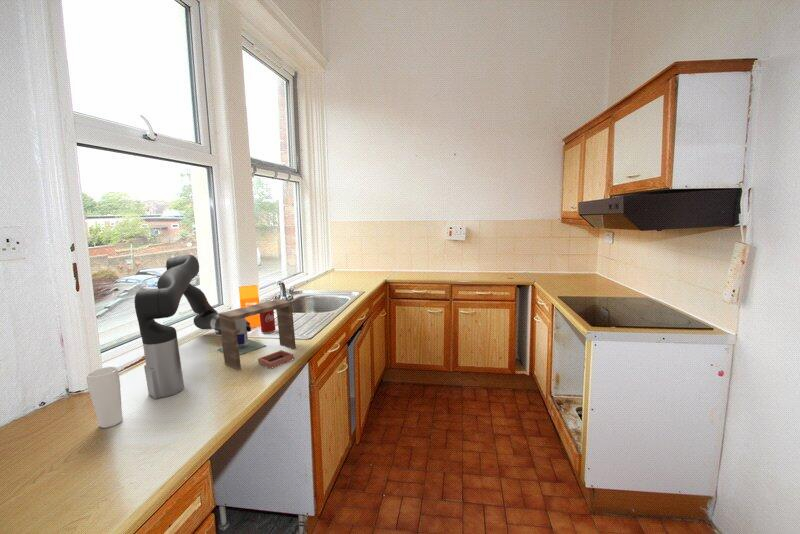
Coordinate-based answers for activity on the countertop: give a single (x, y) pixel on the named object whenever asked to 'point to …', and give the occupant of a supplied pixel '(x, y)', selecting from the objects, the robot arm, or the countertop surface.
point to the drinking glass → (106, 395)
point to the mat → (247, 347)
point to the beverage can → (267, 322)
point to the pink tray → (275, 359)
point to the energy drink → (241, 332)
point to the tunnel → (229, 317)
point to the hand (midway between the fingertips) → (242, 330)
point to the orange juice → (250, 302)
